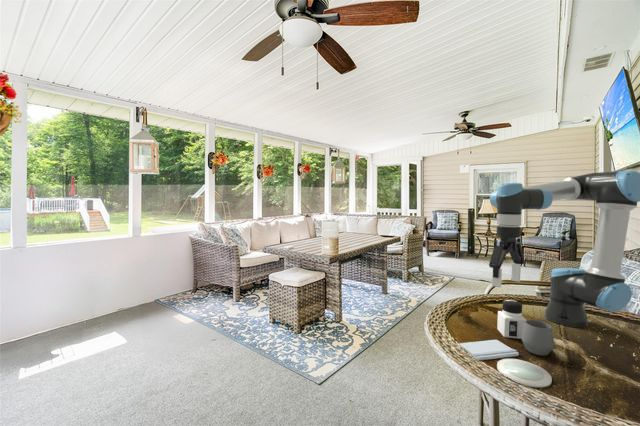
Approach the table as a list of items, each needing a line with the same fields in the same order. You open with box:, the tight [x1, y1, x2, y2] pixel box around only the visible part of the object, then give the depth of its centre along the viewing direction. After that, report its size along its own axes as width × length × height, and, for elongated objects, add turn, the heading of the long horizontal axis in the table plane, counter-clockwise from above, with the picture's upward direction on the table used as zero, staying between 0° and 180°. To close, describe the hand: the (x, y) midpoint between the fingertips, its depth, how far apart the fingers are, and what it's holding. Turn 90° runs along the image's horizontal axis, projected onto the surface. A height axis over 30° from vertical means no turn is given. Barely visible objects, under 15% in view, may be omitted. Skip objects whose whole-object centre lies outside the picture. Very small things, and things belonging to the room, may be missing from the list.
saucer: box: [496, 358, 553, 388], centre depth 95 cm, size 14×14×1 cm
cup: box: [520, 319, 555, 357], centre depth 108 cm, size 10×9×10 cm
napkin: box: [458, 339, 520, 361], centre depth 109 cm, size 16×10×1 cm, turn 102°
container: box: [496, 299, 527, 340], centre depth 122 cm, size 8×8×13 cm
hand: (506, 283), depth 114 cm, fingers open, 13 cm apart
